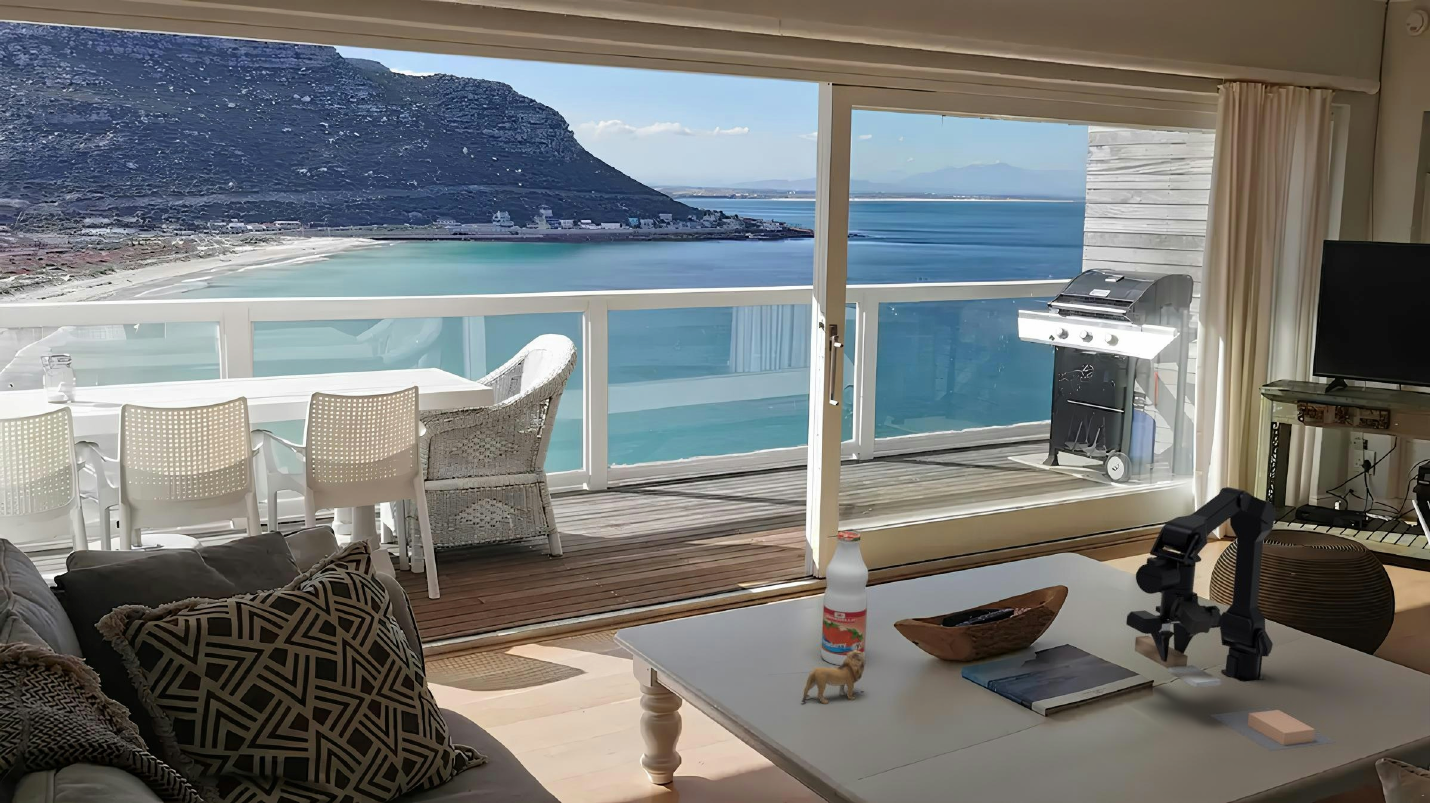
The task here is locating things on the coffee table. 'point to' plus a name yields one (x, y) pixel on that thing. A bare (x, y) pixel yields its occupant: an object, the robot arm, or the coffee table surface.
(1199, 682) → the spatula
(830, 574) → the fruit juice
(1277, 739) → the tile
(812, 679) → the lion figurine
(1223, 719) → the mat
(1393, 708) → the coffee table surface
